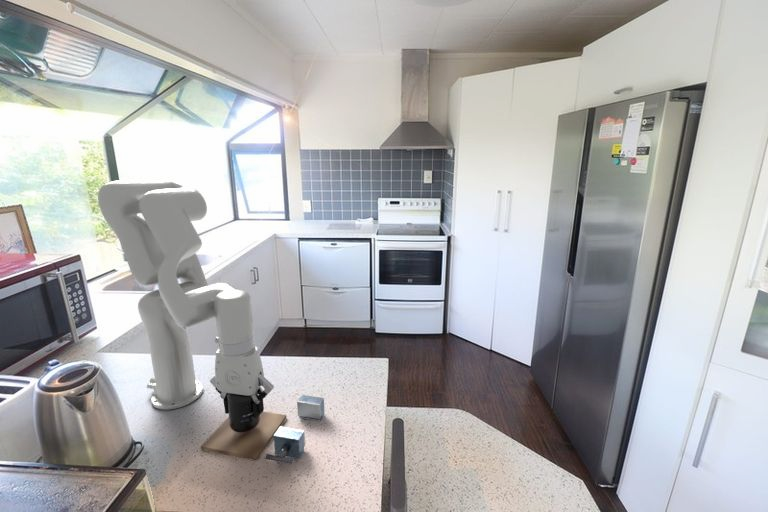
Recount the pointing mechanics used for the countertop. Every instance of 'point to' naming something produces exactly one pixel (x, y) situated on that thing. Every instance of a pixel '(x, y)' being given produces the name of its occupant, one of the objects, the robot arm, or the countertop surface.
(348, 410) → the countertop surface
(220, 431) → the walnut board
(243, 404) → the supplement bottle
